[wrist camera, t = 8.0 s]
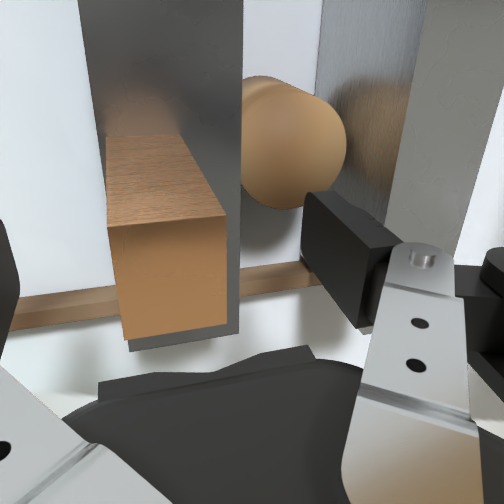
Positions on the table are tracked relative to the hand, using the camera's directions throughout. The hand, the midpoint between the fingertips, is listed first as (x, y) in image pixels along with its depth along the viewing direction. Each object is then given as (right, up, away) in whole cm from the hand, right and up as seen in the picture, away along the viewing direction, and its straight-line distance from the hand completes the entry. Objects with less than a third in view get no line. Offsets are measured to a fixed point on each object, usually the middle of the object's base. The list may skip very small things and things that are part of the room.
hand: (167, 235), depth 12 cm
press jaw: (-2, +5, +9) cm, 11 cm away
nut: (+3, +6, +11) cm, 13 cm away
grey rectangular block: (+7, +7, +12) cm, 16 cm away
